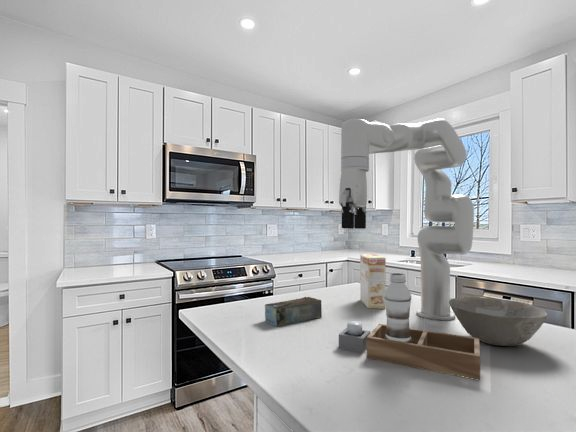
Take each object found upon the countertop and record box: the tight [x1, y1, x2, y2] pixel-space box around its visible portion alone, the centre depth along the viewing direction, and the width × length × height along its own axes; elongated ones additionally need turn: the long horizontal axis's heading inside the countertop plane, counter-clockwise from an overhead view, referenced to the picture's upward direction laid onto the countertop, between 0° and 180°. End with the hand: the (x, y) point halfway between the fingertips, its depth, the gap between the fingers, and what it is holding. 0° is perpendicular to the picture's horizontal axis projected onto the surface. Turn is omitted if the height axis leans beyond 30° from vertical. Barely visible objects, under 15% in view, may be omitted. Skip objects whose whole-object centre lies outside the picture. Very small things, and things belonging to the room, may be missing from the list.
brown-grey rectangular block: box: [264, 296, 323, 328], centre depth 115 cm, size 8×19×7 cm, turn 124°
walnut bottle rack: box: [366, 323, 481, 381], centre depth 82 cm, size 12×24×5 cm, turn 61°
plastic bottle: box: [384, 272, 412, 343], centre depth 84 cm, size 6×7×20 cm
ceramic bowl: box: [449, 296, 548, 347], centre depth 93 cm, size 22×23×10 cm
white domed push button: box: [346, 320, 363, 335], centre depth 90 cm, size 4×4×2 cm
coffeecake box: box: [359, 253, 387, 310], centre depth 136 cm, size 15×7×20 cm, turn 179°
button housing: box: [338, 327, 371, 353], centre depth 90 cm, size 7×7×4 cm
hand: (354, 228), depth 91 cm, fingers open, 9 cm apart
